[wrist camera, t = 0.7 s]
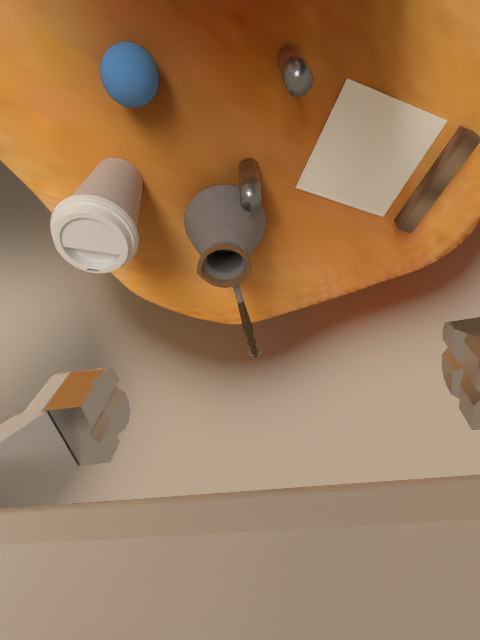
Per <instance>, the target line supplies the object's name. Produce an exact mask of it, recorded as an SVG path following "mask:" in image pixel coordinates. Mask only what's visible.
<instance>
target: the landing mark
mask: <svg viewBox="0 0 480 640" xmlns="http://www.w3.org/2000/svg"><path fill="white" fill-rule="evenodd" d="M446 123H447V120H445V119H443V118H441V117H438V116H436V115H434V114H431V113H429V112H427V111H424V110H422V109H419V108H417V107H415V106H412V105H410V104H408V103H405V102H403V101H401V100H398V99H396V98H393V97H391V96H389V95H386V94H384V93H382V92H379V91H377V90H375V89H372V88H370V87H367V86H365V85H363V84H360V83H358V82H356V81H353V80H351V79H348V78H347V79H346V81H345V83H344V85H343V87H342V90H341V92H340V94H339V96H338V98H337V100H336V102H335V104H334V106H333V109H332V111H331V113H330V115H329V117H328V119H327V121H326V123H325V126H324V128H323V130H322V132H321V134H320V136H319V138H318V140H317V142H316V145H315V147H314V149H313V151H312V153H311V155H310V157H309V159H308V162H307V164H306V166H305V168H304V170H303V172H302V174H301V176H300V178H299V181H298V183H297V185H296V187H295V188H297V189H300V190H303V191H306V192H309V193H312V194H315V195H318V196H321V197H324V198H327V199H330V200H333V201H336V202H339V203H342V204H345V205H348V206H351V207H354V208H357V209H360V210H363V211H366V212H369V213H372V214H375V215H378V216H381V217H383V216H384V215H385V213H386V212H387V210H388V209H389V207H390V206H391V204H392V203H393V202H394V200H395V199H396V197H397V196H398V194H399V193H400V191H401V190H402V188H403V187H404V185H405V184H406V182H407V181H408V179H409V178H410V176H411V175H412V173H413V172H414V170H415V169H416V167H417V166H418V164H419V163H420V161H421V160H422V158H423V157H424V155H425V154H426V152H427V151H428V149H429V148H430V146H431V145H432V143H433V142H434V141H435V139H436V138H437V136H438V135H439V133H440V132H441V130H442V129H443V127H444V126H445V124H446Z"/></svg>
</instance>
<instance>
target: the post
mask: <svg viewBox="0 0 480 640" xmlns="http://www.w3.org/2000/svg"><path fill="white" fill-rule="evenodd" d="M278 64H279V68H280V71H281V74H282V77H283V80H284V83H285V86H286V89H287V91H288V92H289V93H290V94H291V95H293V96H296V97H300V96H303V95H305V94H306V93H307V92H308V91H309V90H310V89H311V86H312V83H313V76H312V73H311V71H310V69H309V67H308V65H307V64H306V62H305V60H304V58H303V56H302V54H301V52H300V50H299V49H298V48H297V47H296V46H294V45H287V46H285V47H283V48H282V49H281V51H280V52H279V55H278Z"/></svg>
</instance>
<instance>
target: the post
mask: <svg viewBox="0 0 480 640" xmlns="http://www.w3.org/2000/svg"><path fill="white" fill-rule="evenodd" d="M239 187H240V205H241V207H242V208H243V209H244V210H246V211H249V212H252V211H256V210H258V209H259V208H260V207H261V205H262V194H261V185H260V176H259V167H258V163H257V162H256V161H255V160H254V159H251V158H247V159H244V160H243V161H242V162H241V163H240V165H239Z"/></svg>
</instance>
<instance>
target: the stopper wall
mask: <svg viewBox="0 0 480 640" xmlns="http://www.w3.org/2000/svg"><path fill="white" fill-rule="evenodd" d="M479 142H480V137H479V136H478V135H477V134H476V133H475V132H474V131H471V130H469V129H467V128H464V127H462V126H460V127H459V128H458V130H457V131H456V133H455V134H454V136H453V137H452V138H451V140H450V141H449V143H448V144H447V146H446V147H445V148H444V150H443V151H442V153H441V154H440V156H439V157H438V158H437V160H436V161H435V163H434V164H433V166H432V167H431V168H430V170H429V171H428V173H427V174H426V176H425V177H424V178H423V180H422V181H421V183H420V184H419V186H418V187H417V189H416V190H415V191H414V193H413V194H412V196H411V197H410V199H409V200H408V201H407V203H406V204H405V206H404V207H403V209H402V210H401V211H400V213H399V214H398V216H397V217H396V219H395V220H394V221H395V223H396V224H397V226H398V228H399V230H402V231H405V232H408V233H412V232H413V230H414V229H415V228H416V226H417V225H418V224H419V222H420V221H421V220H422V218H423V217H424V216H425V214H426V213H427V212H428V210H429V209H430V208H431V206H432V205H433V204H434V202H435V201H436V200H437V198H438V197H439V196H440V194H441V193H442V192H443V190H444V189H445V188H446V186H447V185H448V184H449V182H450V181H451V180H452V178H453V177H454V176H455V174H456V173H457V172H458V170H459V169H460V168H461V166H462V165H463V164H464V162H465V161H466V160H467V158H468V157H469V156H470V154H471V153H472V152H473V150H474V149H475V148H476V146H477V145H478V144H479Z"/></svg>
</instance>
